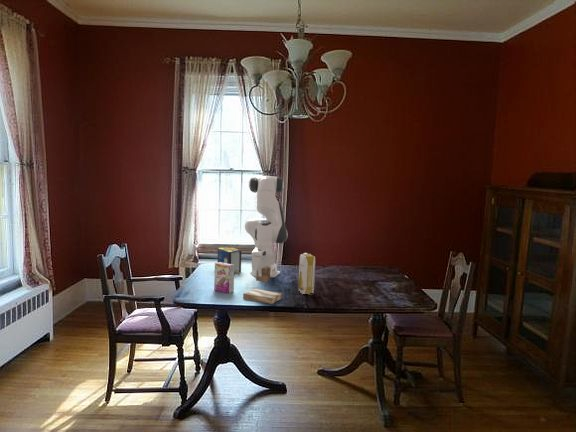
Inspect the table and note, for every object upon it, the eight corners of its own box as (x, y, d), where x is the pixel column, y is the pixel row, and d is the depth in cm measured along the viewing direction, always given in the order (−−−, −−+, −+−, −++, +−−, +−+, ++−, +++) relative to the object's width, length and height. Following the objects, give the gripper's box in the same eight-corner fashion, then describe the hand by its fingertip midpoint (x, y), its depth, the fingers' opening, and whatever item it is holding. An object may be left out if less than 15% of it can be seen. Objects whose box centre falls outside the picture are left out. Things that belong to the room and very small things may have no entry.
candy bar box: (213, 290, 251) (214, 263, 249) (219, 288, 255) (219, 261, 253) (228, 293, 245) (229, 265, 243) (234, 292, 250) (234, 264, 248)
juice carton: (296, 291, 256) (298, 251, 254) (308, 290, 259) (310, 251, 257) (302, 295, 248) (304, 254, 245) (315, 294, 251) (317, 254, 248)
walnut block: (260, 278, 241) (261, 264, 241) (270, 280, 239) (270, 266, 238) (256, 280, 237) (256, 266, 236) (265, 282, 234) (266, 267, 233)
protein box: (229, 267, 310) (230, 246, 308) (241, 272, 298) (241, 250, 297) (216, 269, 303) (217, 247, 302) (228, 274, 292) (228, 251, 290)
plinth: (254, 293, 248) (254, 288, 248) (281, 298, 240) (281, 293, 240) (243, 298, 237) (243, 293, 237) (271, 304, 230) (271, 298, 229)
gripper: (268, 247, 247) (267, 270, 248) (249, 252, 228) (249, 277, 230) (277, 248, 244) (277, 272, 245) (260, 253, 226) (259, 279, 227)
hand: (263, 275), depth 237 cm, fingers closed on walnut block, 5 cm apart
